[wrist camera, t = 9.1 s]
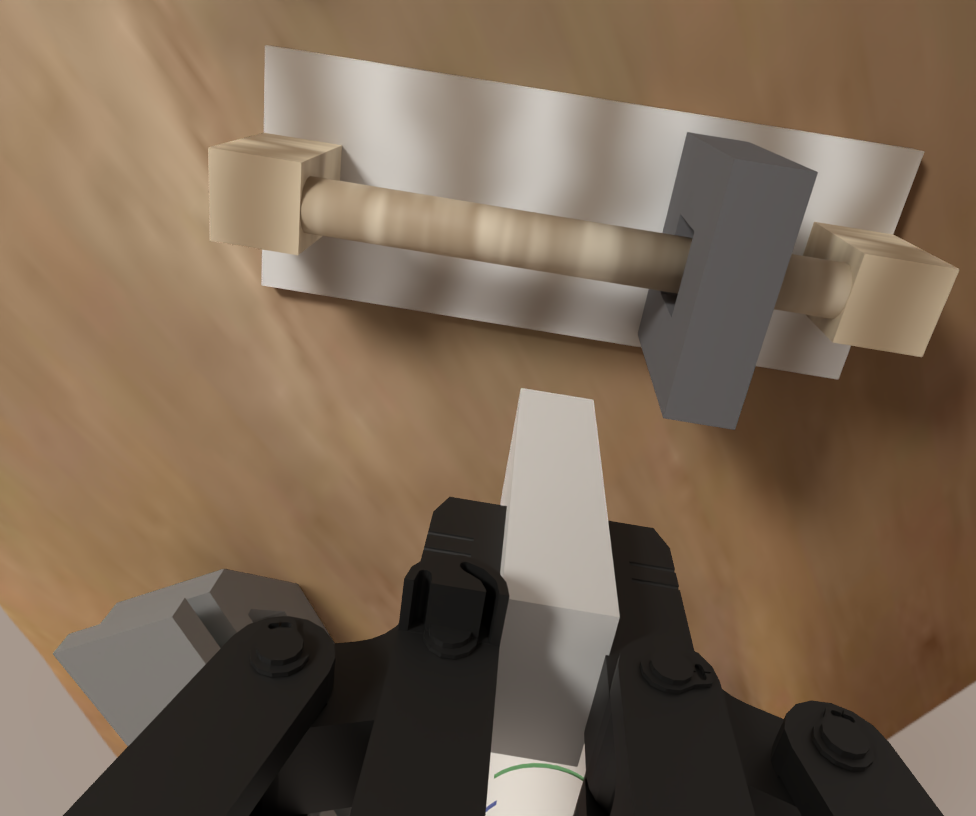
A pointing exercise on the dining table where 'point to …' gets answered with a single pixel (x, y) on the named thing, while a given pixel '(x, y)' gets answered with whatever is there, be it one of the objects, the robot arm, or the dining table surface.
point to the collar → (722, 275)
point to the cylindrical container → (532, 786)
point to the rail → (548, 209)
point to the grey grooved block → (170, 643)
